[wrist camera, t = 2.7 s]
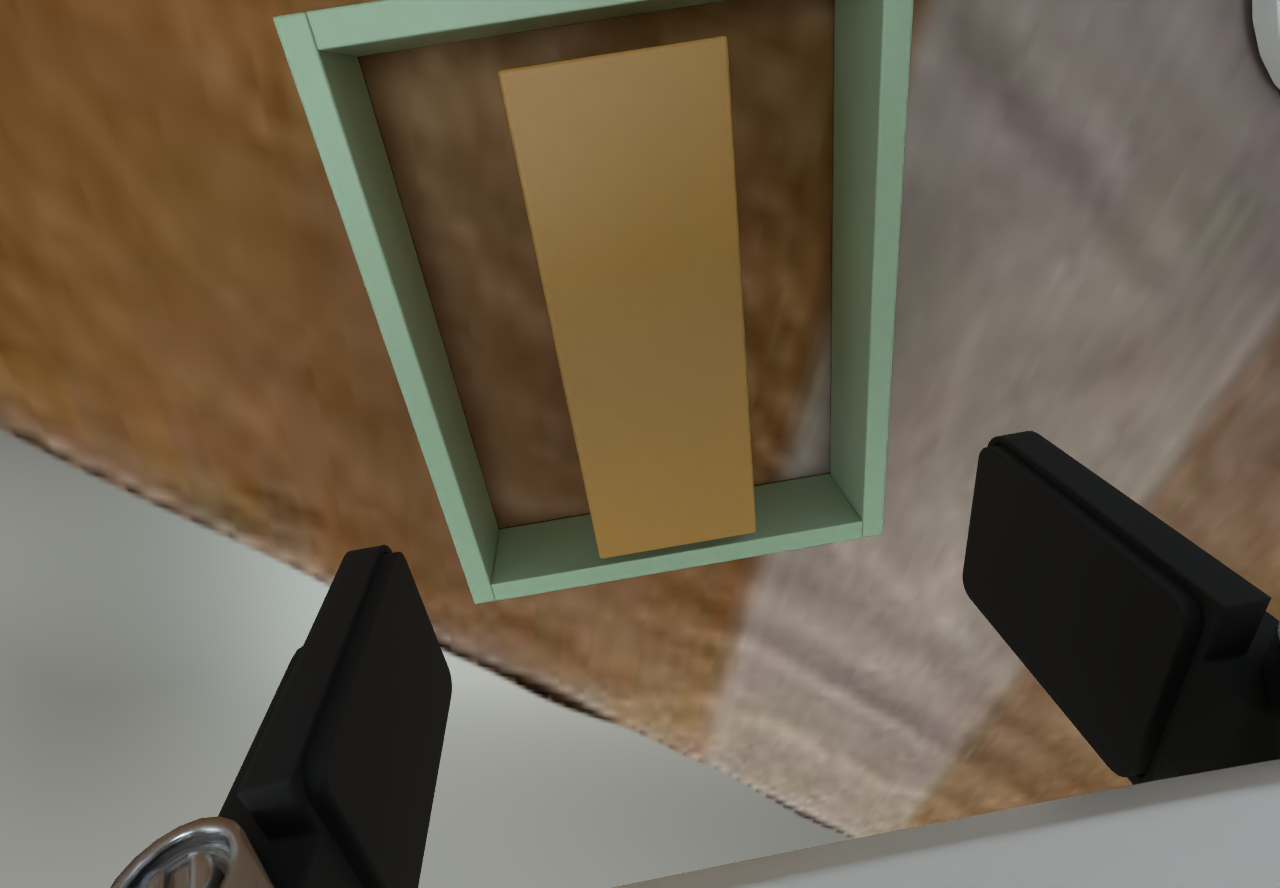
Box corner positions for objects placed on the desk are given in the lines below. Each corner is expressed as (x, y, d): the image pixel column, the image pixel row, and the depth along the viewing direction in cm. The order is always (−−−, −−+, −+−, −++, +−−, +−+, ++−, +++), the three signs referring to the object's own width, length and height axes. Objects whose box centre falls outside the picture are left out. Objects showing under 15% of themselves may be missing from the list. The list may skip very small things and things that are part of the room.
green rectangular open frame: (861, -54, 19) (919, -82, 16) (848, 485, 28) (882, 534, 25) (320, 28, 18) (271, 16, 15) (484, 547, 27) (474, 604, 24)
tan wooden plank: (695, 45, 19) (727, 35, 16) (729, 469, 27) (757, 533, 23) (510, 74, 19) (496, 70, 16) (594, 491, 27) (599, 560, 23)
